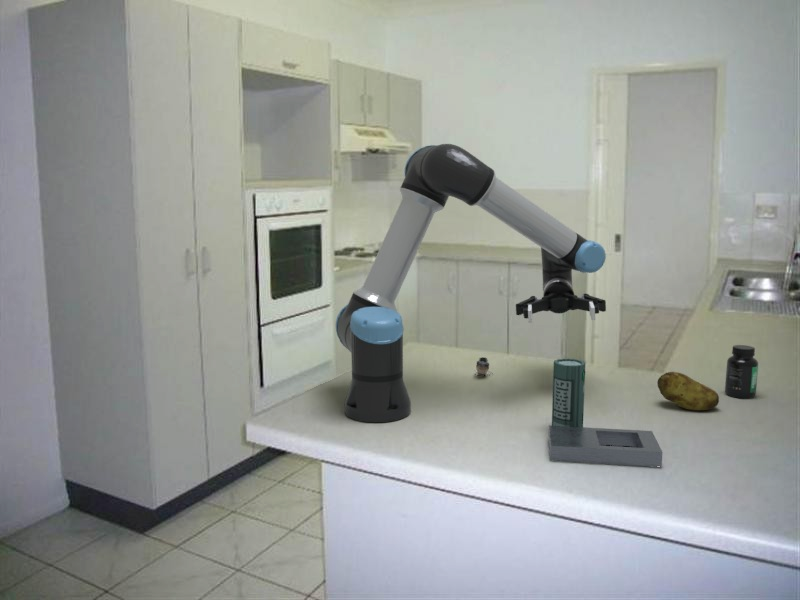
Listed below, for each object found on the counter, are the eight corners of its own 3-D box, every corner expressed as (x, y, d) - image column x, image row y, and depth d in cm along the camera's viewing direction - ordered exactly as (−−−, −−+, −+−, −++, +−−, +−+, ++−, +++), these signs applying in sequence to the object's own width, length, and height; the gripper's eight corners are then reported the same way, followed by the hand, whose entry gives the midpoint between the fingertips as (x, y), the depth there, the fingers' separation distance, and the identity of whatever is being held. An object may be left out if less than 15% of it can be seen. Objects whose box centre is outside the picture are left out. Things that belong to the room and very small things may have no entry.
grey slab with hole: (550, 460, 132) (550, 445, 131) (548, 439, 143) (549, 425, 142) (661, 467, 128) (662, 452, 128) (651, 445, 139) (652, 431, 139)
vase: (492, 380, 184) (491, 358, 183) (472, 381, 186) (470, 359, 185) (494, 374, 190) (492, 353, 189) (474, 375, 191) (472, 354, 190)
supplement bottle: (761, 399, 167) (765, 350, 165) (732, 399, 168) (736, 350, 165) (747, 390, 174) (751, 343, 172) (719, 390, 174) (723, 343, 172)
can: (587, 430, 147) (590, 361, 145) (572, 438, 143) (575, 367, 140) (561, 424, 151) (564, 357, 149) (546, 431, 147) (548, 362, 145)
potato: (710, 418, 155) (713, 383, 153) (652, 406, 163) (654, 373, 161) (720, 408, 161) (723, 374, 160) (664, 398, 169) (666, 365, 168)
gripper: (611, 308, 172) (620, 329, 152) (509, 312, 178) (505, 334, 157) (610, 278, 171) (619, 295, 151) (507, 283, 176) (503, 301, 156)
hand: (561, 315), depth 154 cm, fingers open, 13 cm apart
